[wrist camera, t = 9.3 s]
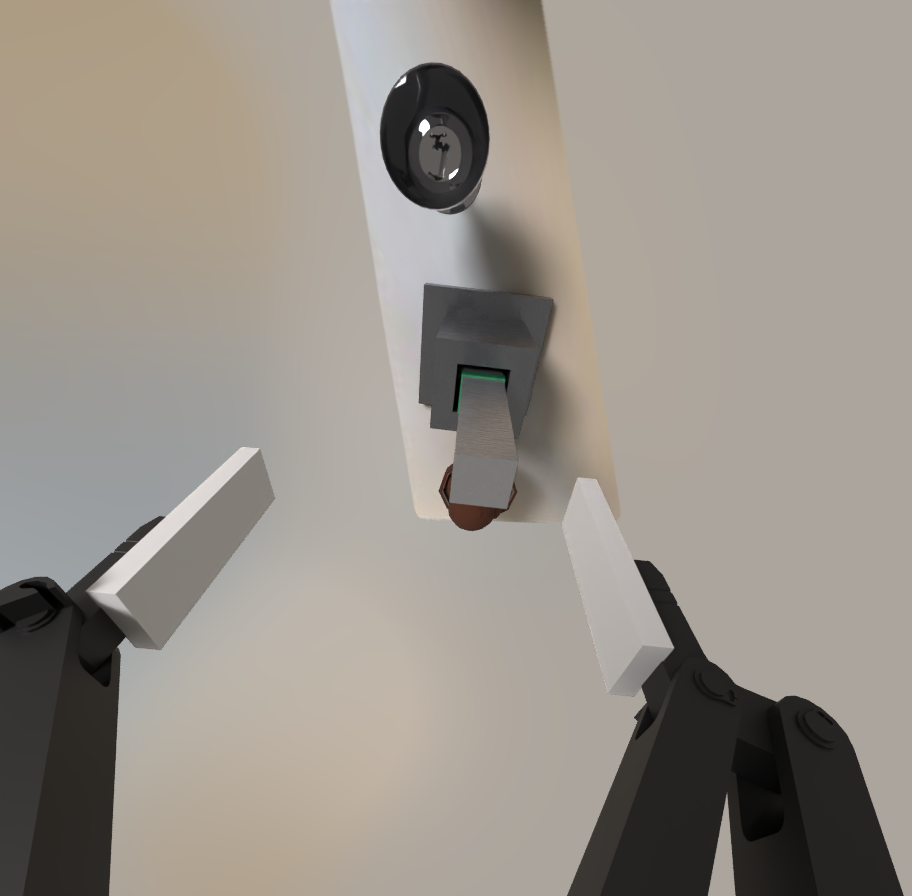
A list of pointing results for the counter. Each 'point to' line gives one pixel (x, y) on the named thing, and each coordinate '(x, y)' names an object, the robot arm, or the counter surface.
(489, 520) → the ice cream bowl
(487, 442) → the post
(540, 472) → the counter surface
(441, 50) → the counter surface
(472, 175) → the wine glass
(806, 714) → the robot arm
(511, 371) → the stand housing
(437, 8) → the counter surface
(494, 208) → the counter surface
